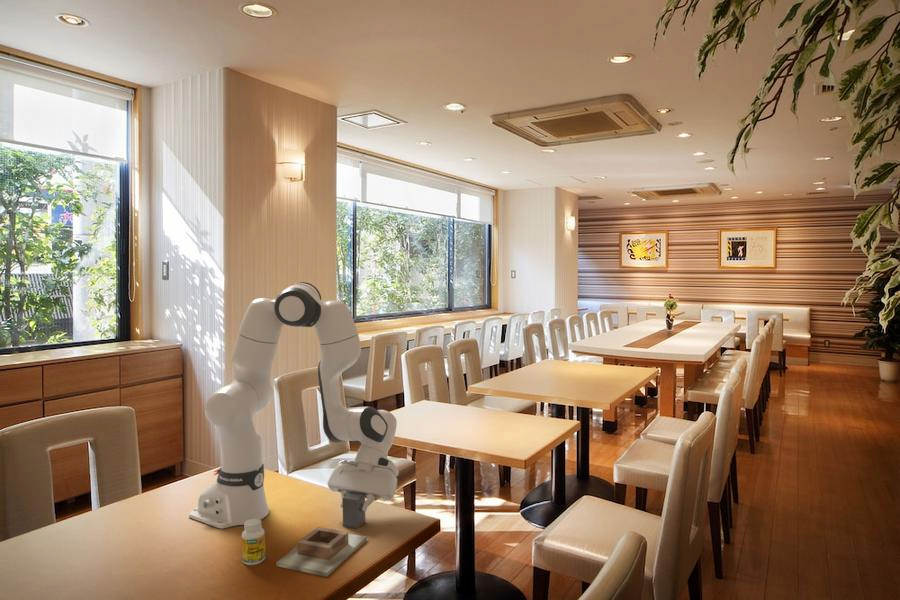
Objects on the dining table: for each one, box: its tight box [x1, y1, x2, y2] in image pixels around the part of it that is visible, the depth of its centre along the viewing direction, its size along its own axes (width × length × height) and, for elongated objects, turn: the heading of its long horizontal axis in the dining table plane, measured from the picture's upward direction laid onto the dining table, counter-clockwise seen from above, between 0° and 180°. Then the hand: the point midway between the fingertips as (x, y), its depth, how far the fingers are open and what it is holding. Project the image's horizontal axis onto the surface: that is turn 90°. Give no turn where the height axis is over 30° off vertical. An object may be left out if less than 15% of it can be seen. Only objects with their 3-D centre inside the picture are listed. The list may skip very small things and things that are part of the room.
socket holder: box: [275, 526, 367, 578], centre depth 145 cm, size 14×19×4 cm
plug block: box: [342, 492, 366, 529], centre depth 161 cm, size 4×4×8 cm
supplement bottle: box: [241, 519, 266, 566], centre depth 141 cm, size 5×5×10 cm
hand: (352, 509), depth 161 cm, fingers closed on plug block, 4 cm apart
